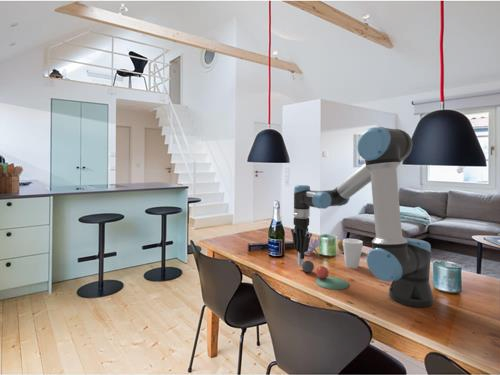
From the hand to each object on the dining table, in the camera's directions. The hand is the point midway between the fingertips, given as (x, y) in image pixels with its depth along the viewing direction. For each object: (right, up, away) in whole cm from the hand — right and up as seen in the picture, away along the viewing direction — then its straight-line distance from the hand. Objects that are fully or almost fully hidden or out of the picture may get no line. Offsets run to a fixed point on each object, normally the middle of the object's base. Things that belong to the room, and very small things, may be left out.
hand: (300, 264), depth 151 cm
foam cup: (+27, -2, +4) cm, 27 cm away
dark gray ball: (+3, 0, -5) cm, 6 cm away
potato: (+33, 0, +29) cm, 44 cm away
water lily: (+10, 0, +25) cm, 27 cm away
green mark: (+11, -3, -18) cm, 21 cm away
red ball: (+8, 0, -13) cm, 15 cm away
